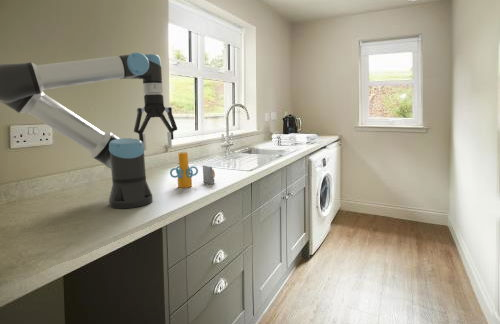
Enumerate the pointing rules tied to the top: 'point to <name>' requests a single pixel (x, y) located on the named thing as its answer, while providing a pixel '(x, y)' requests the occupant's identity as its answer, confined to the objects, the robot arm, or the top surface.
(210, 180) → the grey stone
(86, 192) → the top surface
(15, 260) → the top surface
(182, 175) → the orange block with rings
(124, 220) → the top surface
